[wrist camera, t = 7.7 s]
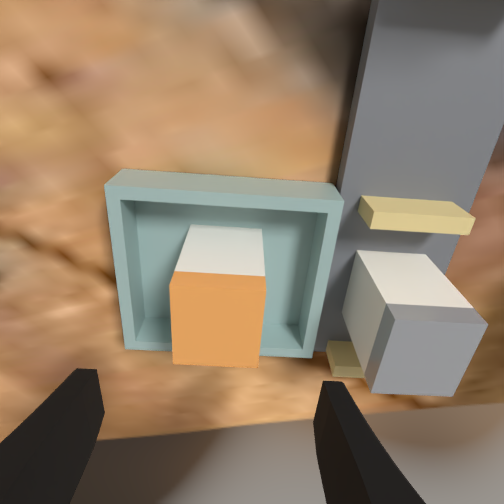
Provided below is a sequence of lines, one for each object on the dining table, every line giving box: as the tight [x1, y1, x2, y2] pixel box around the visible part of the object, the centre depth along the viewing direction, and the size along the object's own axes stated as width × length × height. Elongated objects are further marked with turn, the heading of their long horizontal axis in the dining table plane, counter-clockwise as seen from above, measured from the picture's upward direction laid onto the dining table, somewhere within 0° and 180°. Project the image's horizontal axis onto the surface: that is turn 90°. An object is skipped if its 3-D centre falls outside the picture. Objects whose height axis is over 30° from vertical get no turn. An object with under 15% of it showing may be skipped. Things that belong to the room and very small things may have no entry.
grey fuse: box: [342, 250, 488, 397], centre depth 17 cm, size 4×4×6 cm
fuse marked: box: [169, 224, 266, 368], centre depth 17 cm, size 4×4×6 cm
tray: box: [104, 169, 344, 358], centre depth 18 cm, size 10×9×2 cm
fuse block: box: [313, 0, 504, 378], centre depth 15 cm, size 6×28×3 cm, turn 176°
